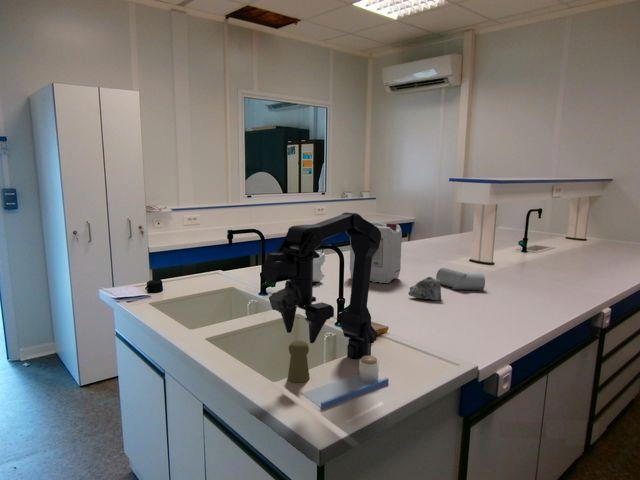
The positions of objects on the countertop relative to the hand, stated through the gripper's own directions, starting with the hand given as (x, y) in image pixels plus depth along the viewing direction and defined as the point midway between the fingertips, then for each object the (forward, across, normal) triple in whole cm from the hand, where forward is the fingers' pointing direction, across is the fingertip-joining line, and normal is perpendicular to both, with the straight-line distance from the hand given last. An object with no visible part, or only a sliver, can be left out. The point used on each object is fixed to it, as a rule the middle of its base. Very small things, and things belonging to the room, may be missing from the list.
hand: (300, 337), depth 110 cm
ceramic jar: (+12, +10, +15) cm, 21 cm away
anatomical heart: (+12, -81, +76) cm, 112 cm away
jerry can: (+12, -66, +104) cm, 124 cm away
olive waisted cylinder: (+13, -2, +1) cm, 13 cm away
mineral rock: (+12, -27, +94) cm, 98 cm away
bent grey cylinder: (+12, -29, +123) cm, 127 cm away
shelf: (+13, +10, +7) cm, 17 cm away
